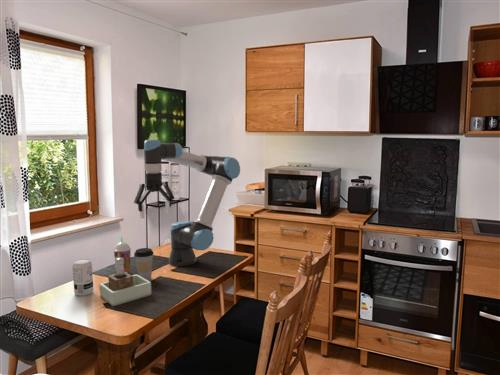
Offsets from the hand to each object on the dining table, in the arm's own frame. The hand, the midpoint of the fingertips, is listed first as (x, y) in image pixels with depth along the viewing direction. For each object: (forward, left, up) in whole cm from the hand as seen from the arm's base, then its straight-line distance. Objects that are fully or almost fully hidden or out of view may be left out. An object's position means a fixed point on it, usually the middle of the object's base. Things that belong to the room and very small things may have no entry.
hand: (155, 215), depth 201 cm
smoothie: (+9, -20, -33) cm, 40 cm away
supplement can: (+33, -9, -33) cm, 47 cm away
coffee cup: (+4, -6, -33) cm, 34 cm away
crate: (+20, +7, -33) cm, 39 cm away
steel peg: (+22, +7, -27) cm, 36 cm away
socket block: (+22, +7, -33) cm, 40 cm away
